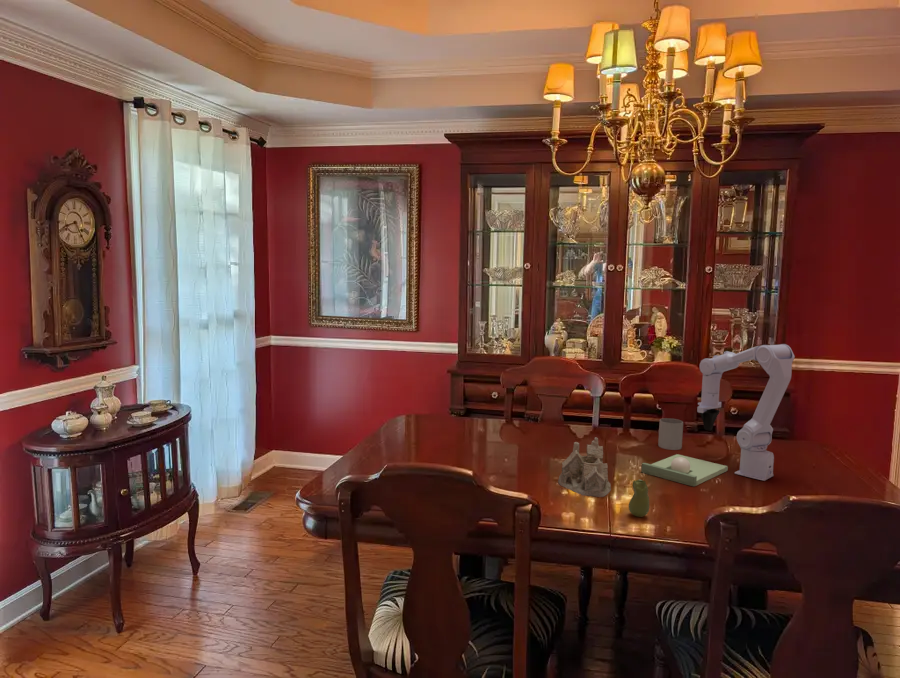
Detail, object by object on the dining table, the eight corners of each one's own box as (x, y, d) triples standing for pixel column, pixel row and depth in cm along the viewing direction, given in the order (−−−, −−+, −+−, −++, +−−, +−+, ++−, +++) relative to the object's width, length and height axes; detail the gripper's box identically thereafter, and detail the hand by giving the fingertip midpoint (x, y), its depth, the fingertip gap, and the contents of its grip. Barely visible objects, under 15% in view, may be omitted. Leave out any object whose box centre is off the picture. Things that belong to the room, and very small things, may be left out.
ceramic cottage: (561, 475, 202) (564, 430, 199) (613, 483, 196) (616, 438, 194) (551, 493, 187) (554, 446, 185) (607, 503, 182) (611, 454, 179)
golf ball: (682, 469, 198) (681, 482, 201) (695, 460, 200) (694, 473, 204) (667, 459, 202) (666, 472, 206) (679, 450, 204) (679, 462, 208)
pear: (650, 520, 166) (652, 484, 165) (630, 519, 167) (632, 483, 165) (645, 512, 172) (647, 477, 171) (626, 511, 172) (628, 476, 171)
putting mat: (727, 470, 209) (728, 461, 209) (693, 486, 193) (694, 477, 192) (676, 458, 222) (677, 450, 222) (641, 472, 206) (641, 463, 206)
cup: (683, 450, 232) (684, 424, 231) (659, 449, 234) (661, 422, 232) (679, 444, 240) (681, 419, 239) (657, 442, 242) (658, 417, 241)
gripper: (708, 388, 228) (706, 424, 229) (689, 392, 218) (687, 430, 219) (728, 390, 222) (725, 428, 224) (709, 396, 213) (707, 435, 214)
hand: (708, 429), depth 221 cm, fingers closed
